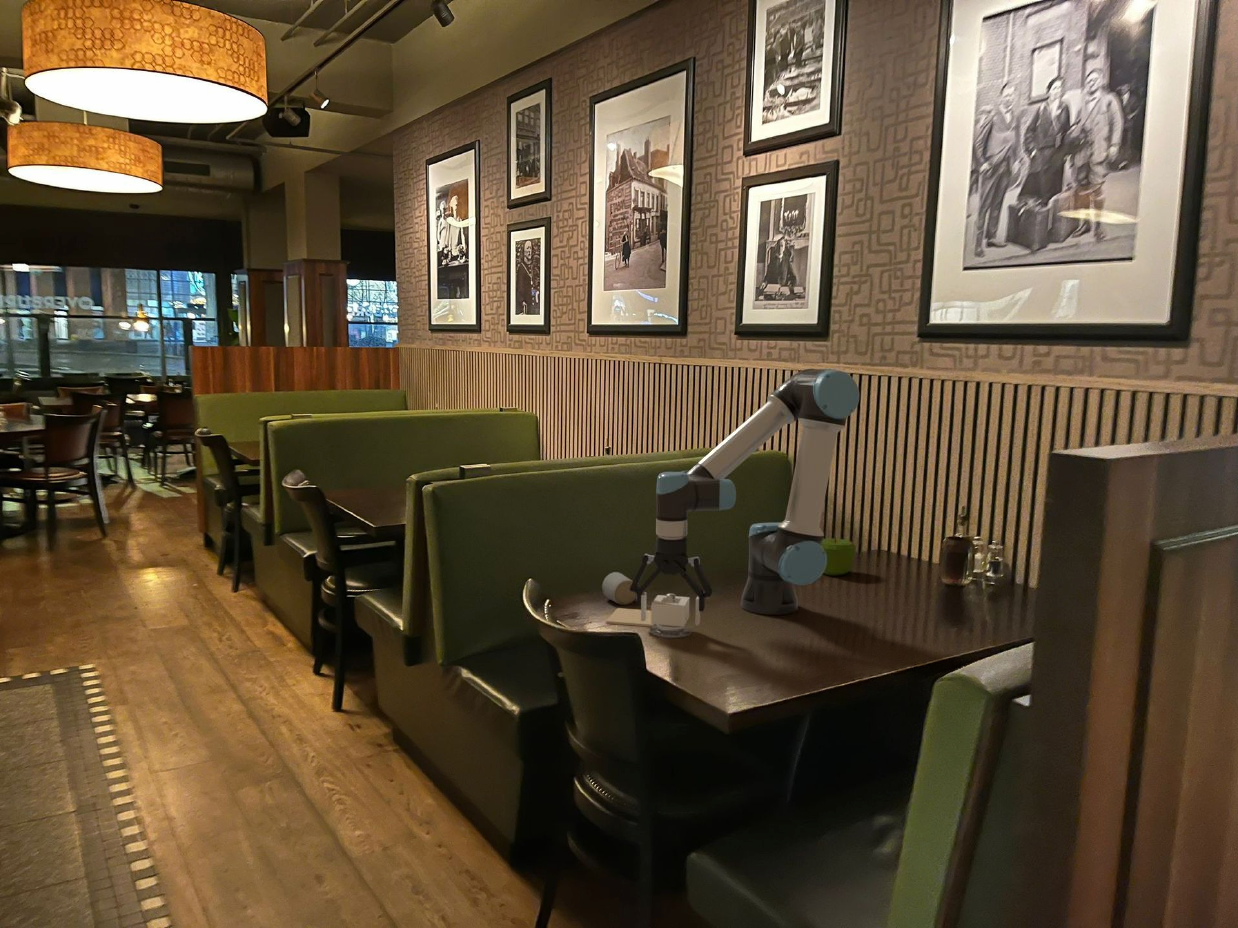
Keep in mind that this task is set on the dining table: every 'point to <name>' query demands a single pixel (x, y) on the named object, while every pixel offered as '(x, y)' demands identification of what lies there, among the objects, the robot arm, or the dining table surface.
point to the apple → (838, 556)
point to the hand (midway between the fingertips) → (670, 621)
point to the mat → (630, 617)
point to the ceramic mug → (618, 589)
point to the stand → (669, 630)
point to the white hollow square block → (670, 611)
